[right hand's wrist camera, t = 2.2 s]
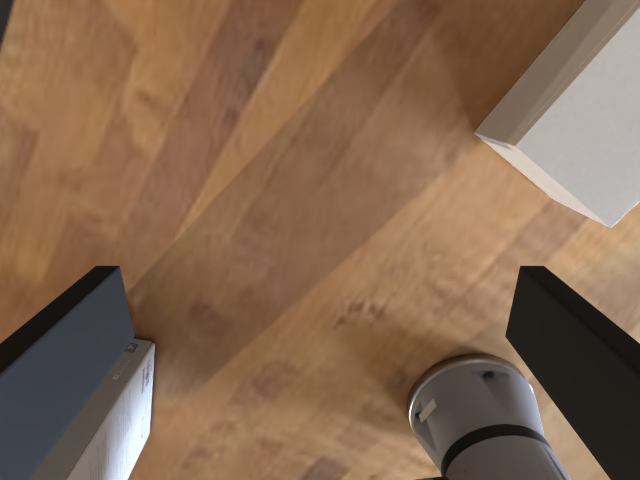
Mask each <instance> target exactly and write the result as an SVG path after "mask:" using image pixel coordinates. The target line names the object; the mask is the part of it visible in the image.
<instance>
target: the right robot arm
mask: <svg viewBox="0 0 640 480" xmlns="http://www.w3.org/2000/svg"><path fill="white" fill-rule="evenodd" d="M134 337H135V336H134V331H133V326H132V322H131V317H130V312H129V308H128V303H127V298H126V294H125V289H124V284H123V280H122V275H121V270H120V266H96V267H94V268H93V269H92V270H91V271H89V272H88V273H87V274H86V275H85V276H83V277H82V278H81V279H80V280H78V281H77V282H76V283H75V284H73V285H72V286H71V287H70V288H68V289H67V290H66V291H65V292H64V293H62V294H61V295H60V296H59V297H57V298H56V299H55V300H54V301H52V302H51V303H50V304H49V305H48V306H46V307H45V308H44V309H43V310H41V311H40V312H39V313H38V314H36V315H35V316H34V317H33V318H31V319H30V320H29V321H28V322H27V323H25V324H24V325H23V326H22V327H20V328H19V329H18V330H17V331H15V332H14V333H13V334H12V335H11V336H9V337H8V338H7V339H6V340H4V341H3V342H2V343H1V344H0V480H29V479H30V478H31V476H32V475H33V474H34V472H35V471H36V470H37V468H38V467H39V466H40V464H41V463H42V461H43V460H44V459H45V457H46V456H47V455H48V453H49V452H50V451H51V449H52V448H53V447H54V445H55V444H56V442H57V441H58V440H59V438H60V437H61V436H62V434H63V433H64V432H65V430H66V429H67V428H68V426H69V425H70V423H71V422H72V421H73V419H74V418H75V417H76V415H77V414H78V413H79V411H80V410H81V408H82V407H83V406H84V404H85V403H86V402H87V400H88V399H89V398H90V396H91V395H92V394H93V392H94V391H95V389H96V388H97V387H98V385H99V384H100V383H101V381H102V380H103V379H104V377H105V376H106V375H107V373H108V372H109V370H110V369H111V368H112V366H113V365H114V364H115V362H116V361H117V360H118V358H119V357H120V356H121V354H122V353H123V351H124V350H125V349H126V347H127V346H128V345H129V343H130V342H131V341H132V339H133V338H134ZM505 337H506V338H507V339H508V341H509V342H510V343H511V345H512V346H513V347H514V349H515V350H516V351H517V353H518V354H519V356H520V357H521V358H522V360H523V361H524V362H525V364H526V365H527V366H528V368H529V369H530V370H531V372H532V373H533V375H534V376H535V377H536V379H537V380H538V381H539V383H540V384H541V385H542V387H543V388H544V389H545V391H546V392H547V394H548V395H549V396H550V398H551V399H552V400H553V402H554V403H555V404H556V406H557V407H558V408H559V410H560V411H561V413H562V414H563V415H564V417H565V418H566V419H567V421H568V422H569V423H570V425H571V426H572V428H573V429H574V430H575V432H576V433H577V434H578V436H579V437H580V438H581V440H582V441H583V442H584V444H585V445H586V447H587V448H588V449H589V451H590V452H591V453H592V455H593V456H594V457H595V459H596V460H597V461H598V463H599V464H600V466H601V467H602V468H603V470H604V471H605V472H606V474H607V475H608V476H609V478H610V479H611V480H640V344H639V343H638V342H637V341H636V340H634V339H633V338H632V337H631V336H629V335H628V334H627V333H626V332H625V331H623V330H622V329H621V328H620V327H618V326H617V325H616V324H615V323H613V322H612V321H611V320H610V319H609V318H607V317H606V316H605V315H604V314H602V313H601V312H600V311H599V310H597V309H596V308H595V307H594V306H592V305H591V304H590V303H589V302H588V301H586V300H585V299H584V298H583V297H581V296H580V295H579V294H578V293H576V292H575V291H574V290H573V289H572V288H570V287H569V286H568V285H567V284H565V283H564V282H563V281H562V280H560V279H559V278H558V277H557V276H555V275H554V274H553V273H552V272H551V271H549V270H548V269H547V268H546V267H544V266H520V270H519V275H518V280H517V284H516V289H515V294H514V298H513V303H512V308H511V312H510V317H509V322H508V326H507V331H506V336H505ZM407 412H408V417H409V421H410V424H411V428H412V430H413V432H414V434H415V436H416V438H417V439H418V441H419V442H420V444H421V445H422V447H423V448H424V449H425V451H426V452H427V454H428V455H429V456H430V458H431V459H432V461H433V462H434V464H435V465H436V466H437V468H438V469H439V471H440V472H441V475H442V477H435V478H425V479H417V480H571V478H570V477H569V475H568V473H567V472H566V470H565V469H564V467H563V466H562V464H561V463H560V461H559V459H558V458H557V456H556V455H555V453H554V452H553V450H552V449H551V447H550V445H549V444H548V442H547V441H546V439H545V436H544V432H543V428H542V423H541V419H540V415H539V411H538V406H537V402H536V398H535V395H534V393H533V390H532V388H531V386H530V384H529V383H528V381H527V380H526V378H525V377H524V376H523V374H522V373H521V372H520V370H519V369H518V368H516V367H515V366H514V365H513V364H511V363H510V362H508V361H506V360H504V359H501V358H498V357H495V356H490V355H482V354H472V355H463V356H458V357H454V358H451V359H448V360H446V361H443V362H441V363H439V364H437V365H436V366H434V367H432V368H431V369H429V370H428V371H427V372H426V373H424V374H423V375H422V376H421V377H420V378H419V379H418V381H417V382H416V383H415V385H414V386H413V388H412V390H411V392H410V394H409V397H408V402H407Z"/></svg>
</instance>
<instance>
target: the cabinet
mask: <svg viewBox="0 0 640 480" xmlns="http://www.w3.org/2000/svg"><path fill="white" fill-rule="evenodd" d="M474 134H476V135H477V136H478V137H479V138H480V139H482V140H483V141H484V142H485V143H486V144H488V145H489V146H490V147H491V148H492V149H494V150H495V151H496V152H497V153H498V154H500V155H501V156H502V157H503V158H504V159H506V160H507V161H508V162H509V163H510V164H512V165H513V166H514V167H515V168H516V169H518V170H519V171H520V172H521V173H522V174H523V175H525V176H526V177H527V178H528V179H529V180H531V181H532V182H533V183H534V184H535V185H537V186H538V187H539V188H540V189H541V190H543V191H544V192H545V193H546V194H547V195H549V196H550V197H551V198H552V199H554V200H556V201H558V202H560V203H562V204H564V205H566V206H568V207H569V208H571V209H573V210H575V211H577V212H579V213H581V214H583V215H585V216H587V217H589V218H591V219H593V220H595V221H597V222H599V223H601V224H603V225H605V226H607V227H609V228H611V227H612V226H613V225H614V224H616V223H617V222H618V221H619V220H620V219H621V218H622V217H623V216H624V215H625V214H626V213H627V212H628V211H630V210H631V209H632V208H633V207H634V206H635V205H636V204H637V203H638V202H639V201H640V0H585V2H584V3H583V4H582V5H581V6H580V7H579V9H578V10H577V11H576V12H575V13H574V15H573V16H572V17H571V18H570V19H569V20H568V22H567V23H566V24H565V25H564V26H563V28H562V29H561V30H560V31H559V32H558V33H557V35H556V36H555V37H554V38H553V39H552V41H551V42H550V43H549V44H548V45H547V46H546V48H545V49H544V50H543V51H542V52H541V54H540V55H539V56H538V57H537V58H536V59H535V61H534V62H533V63H532V64H531V65H530V66H529V68H528V69H527V70H526V71H525V72H524V74H523V75H522V76H521V77H520V78H519V79H518V81H517V82H516V83H515V84H514V85H513V87H512V88H511V89H510V90H509V91H508V92H507V94H506V95H505V96H504V97H503V98H502V100H501V101H500V102H499V103H498V104H497V105H496V107H495V108H494V109H493V110H492V111H491V113H490V114H489V115H488V116H487V117H486V118H485V120H484V121H483V122H482V123H481V124H480V126H479V127H478V128H477V129H476V130H475V131H474Z"/></svg>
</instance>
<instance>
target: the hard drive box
mask: <svg viewBox="0 0 640 480" xmlns="http://www.w3.org/2000/svg"><path fill="white" fill-rule="evenodd" d="M154 353H155V343H152V341H146V340H140V339H132V341H131V342H130V343H129V345H128V346H127V347H126V349H125V350H124V351H123V353H122V354H121V356H120V357H119V358H118V360H117V361H116V362H115V364H114V365H113V366H112V368H111V369H110V370H109V372H108V373H107V375H106V376H105V377H104V379H103V380H102V381H101V383H100V384H99V385H98V387H97V388H96V389H95V391H94V392H93V394H92V395H91V396H90V398H89V399H88V400H87V402H86V403H85V404H84V406H83V407H82V408H81V410H80V411H79V413H78V414H77V415H76V417H75V418H74V419H73V421H72V422H71V423H70V425H69V426H68V428H67V429H66V430H65V432H64V433H63V434H62V436H61V437H60V438H59V440H58V441H57V442H56V444H55V445H54V447H53V448H52V449H51V451H50V452H49V453H48V455H47V456H46V457H45V459H44V460H43V461H42V463H41V464H40V466H39V467H38V468H37V470H36V471H35V472H34V474H33V475H32V476H31V478H30V479H29V480H128V478H129V476H130V474H131V472H132V469H133V467H134V465H135V463H136V461H137V459H138V457H139V455H140V453H141V451H142V449H143V447H144V444H145V442H146V440H147V438H148V436H149V433H150V419H151V400H152V385H153V372H154Z"/></svg>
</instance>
